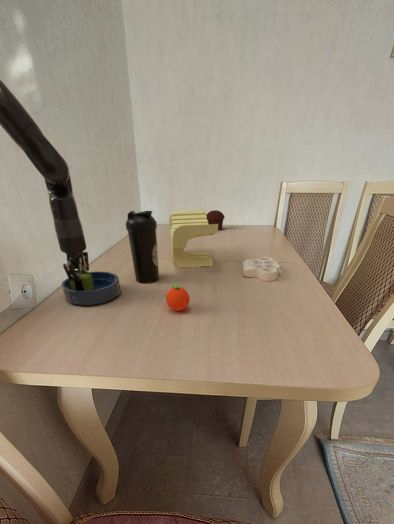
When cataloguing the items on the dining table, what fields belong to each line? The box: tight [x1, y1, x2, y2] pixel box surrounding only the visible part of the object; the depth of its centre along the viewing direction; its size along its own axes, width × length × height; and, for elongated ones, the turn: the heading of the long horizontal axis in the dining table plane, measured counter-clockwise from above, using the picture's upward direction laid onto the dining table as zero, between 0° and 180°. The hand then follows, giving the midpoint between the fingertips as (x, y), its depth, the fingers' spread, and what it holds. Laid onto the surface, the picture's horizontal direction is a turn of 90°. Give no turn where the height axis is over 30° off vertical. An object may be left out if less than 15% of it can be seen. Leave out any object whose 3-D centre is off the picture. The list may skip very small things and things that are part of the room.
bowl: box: [60, 271, 122, 306], centre depth 96 cm, size 18×18×5 cm
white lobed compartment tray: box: [242, 256, 284, 282], centre depth 112 cm, size 3×18×15 cm
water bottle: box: [125, 210, 160, 284], centre depth 103 cm, size 10×10×23 cm
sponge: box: [69, 274, 95, 291], centre depth 96 cm, size 6×4×5 cm, turn 87°
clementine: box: [165, 285, 191, 312], centre depth 87 cm, size 8×7×7 cm
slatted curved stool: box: [168, 209, 219, 268], centre depth 120 cm, size 30×16×18 cm, turn 7°
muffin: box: [206, 210, 225, 232], centre depth 173 cm, size 12×11×10 cm
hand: (83, 288), depth 97 cm, fingers closed on sponge, 4 cm apart
